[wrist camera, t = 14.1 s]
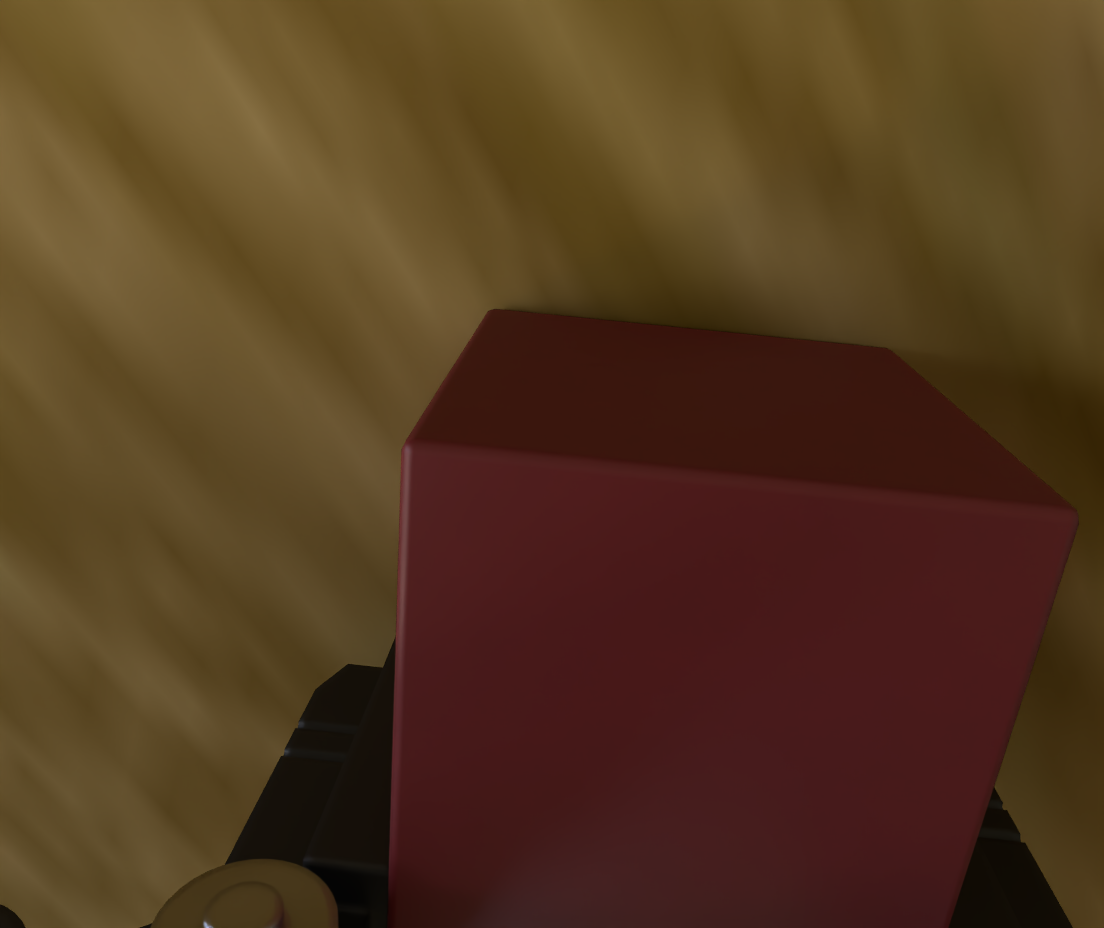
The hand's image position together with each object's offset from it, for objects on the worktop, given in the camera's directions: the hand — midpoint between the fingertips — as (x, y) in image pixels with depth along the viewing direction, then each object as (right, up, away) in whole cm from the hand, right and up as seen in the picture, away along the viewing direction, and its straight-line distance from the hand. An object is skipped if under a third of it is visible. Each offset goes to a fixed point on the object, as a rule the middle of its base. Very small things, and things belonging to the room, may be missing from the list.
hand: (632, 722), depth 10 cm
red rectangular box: (0, 0, 0) cm, 0 cm away
